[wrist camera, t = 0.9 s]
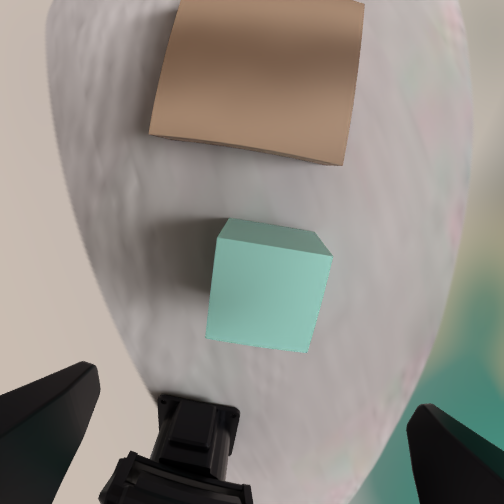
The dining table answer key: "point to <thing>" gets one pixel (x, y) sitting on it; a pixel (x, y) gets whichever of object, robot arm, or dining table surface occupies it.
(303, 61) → the walnut block
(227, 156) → the dining table surface
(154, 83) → the dining table surface
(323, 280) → the teal cube
